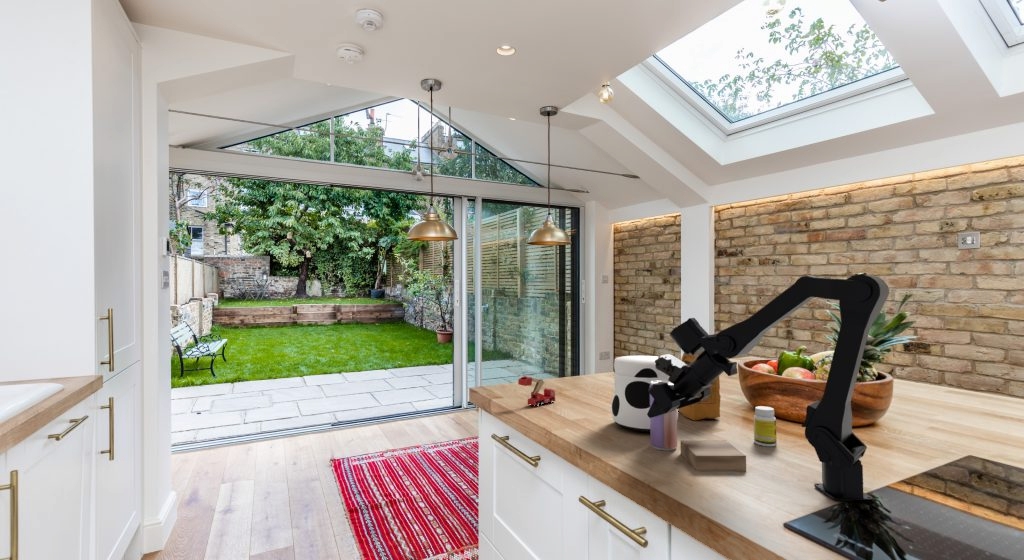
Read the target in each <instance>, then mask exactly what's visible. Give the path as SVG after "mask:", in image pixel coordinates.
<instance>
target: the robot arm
mask: <svg viewBox="0 0 1024 560" xmlns="http://www.w3.org/2000/svg"><path fill="white" fill-rule="evenodd" d="M889 294H890V288H889V285H888V283H886V281H885V280H884V279H883V278H881V277H879V276H876V275H873V274H855V275H854V274H853V275H851V276H850V277H848V278H844V279H843V278H831V277H830V278H829V277H818V276H817V275H816V276H815V275H804V276H803V275H802V276H801V277H799V278H797V279H796V281H795V282H794V283H793V284H792V285H791V286H789V287H787V288H786V289H785V290H784V291H782V292H781V293H779V294H778V295H777V296H775V297H774V298H773V299H772V300H771V301H769V302H768V303H767V304H765V305H764V306H762V307H761V308H760V309H758V311H756V312H755V313H753V314H752V315H751V316H750V317H748V318H746V319H745V320H742V321H740V322H738V323H735V324H732V325H731V326H728V327H727V328H725V329H722V330H721V331H719V332H717V333H715V334H714V333H713V334H709V333H708V332H707V331H706V330H705V328H703V327H702V326H701V324H700V323H699V321H698V320H697V319H696V318H695V317H689V318H688V319H687V320H686V321H684V322H682V323H680V324H679V325H678V326H676V327H673V329H672V330H671V331H670V333H669V337H670V338H671V339H672V340H673V341H674V343H675V344H676V345H677V346H678V348H680V349H681V351H682V352H683V354H684V353H685V354H686V355H690V354H692V355H693V356H696V355H698V354H700V353H701V352H702V351H703V350H704V349H705V350H704V351H703V352H702V353H701V354H700V355H699V356H698V357H697V358H696V359H695V360H694V361H693V362H692V363H691V364H690V365H686V364H685V363H684V362H682V361H681V359H679V358H677V357H676V356H674V355H672V354H670V353H666V354H661V355H659V356H658V359H657V360H655V363H656V365H655V366H656V369H657V370H660V371H662V372H663V373H665V374H667V375H668V376H670V378H669V381H670V382H671V383H673V384H674V385H673V388H674V390H672V389H671V387H670V386H669V385H668V384H667V383H665V382H659V383H656V384H653V385H652V386H651V387H650V388H649V389H648V392H649V393H650V394H651V396H652V397H653V398H654V400H653V403H652V405H651V407H650V409H649V411H648V413H647V415H648V417H649V418H652V417H656V416H659V415H662V414H666V413H669V412H672V411H675V409H676V408H677V409H679V408H682V407H685V406H689V405H692V404H695V403H698V402H700V401H702V400H705V399H706V398H708V397H709V396H710V395H711V389H710V388H709V387H710V386H711V385H712V384H713V383H712V382H713V381H714V380H715V379H716V378H717V377H718V376H719V377H720V376H721V374H723V373H725V374H726V375H727V376H728V377H732V376H735V375H738V373H739V372H738V368H737V365H738V363H737V361H731V360H730V359H733V358H737V357H742V356H745V355H747V354H749V353H750V352H751V351H752V350H753V349H754V348H755V347H756V346H757V345H758V343H760V341H761V340H762V338H763V337H764V336H765V335H766V333H768V331H770V330H771V329H772V328H774V327H775V326H777V325H779V324H780V323H781V322H783V321H784V320H785V319H786V318H788V317H789V316H790V315H792V314H793V313H794V312H796V311H797V310H799V309H800V308H801V307H803V306H804V305H806V304H807V303H809V302H810V301H811V300H813V299H815V298H817V299H818V298H821V299H828V300H837V301H839V302H838V305H839V306H838V307H839V308H838V309H839V315H840V327H839V332H838V335H837V339H836V344H835V348H834V351H833V356H832V359H831V363H830V364H831V365H830V367H829V371H828V374H827V377H826V378H827V380H826V383H825V386H824V391H823V395H822V398H821V399H820V400H816V401H814V402H811V403H810V404H808V405H807V406H806V409H805V410H806V411H805V412H806V413H805V420H804V422H803V423H802V424H801V427H803V428H805V429H804V436H805V439H807V442H808V443H809V444H810V446H811V447H813V448H814V450H815V453H816V455H817V458H818V460H819V462H820V463H821V479H822V483H820V482H819V483H813V484H814V488H816V489H817V490H819V491H820V492H822V493H823V494H825V495H826V496H828V497H829V498H831V499H832V500H834V501H835V502H854V501H853V500H872V499H873V497H872V496H870V495H868V494H867V493H866V492H864V468H863V467H864V465H863V464H862V461H861V460H860V459H861V458H862V457H864V455H865V453H866V451H867V448H868V447H867V445H866V444H865V443H864V442H863V441H862V440H861V439H860V438H859V437H858V436H857V435H856V434H855V433H854V432H853V431H852V430H853V413H852V406H851V404H852V402H851V401H852V397H853V394H854V390H855V386H856V382H857V378H858V375H859V370H860V367H861V364H862V359H863V355H864V352H865V349H866V344H867V341H868V337H869V334H870V329H871V327H872V325H873V324H874V323H875V321H876V319H877V318H878V316H879V314H880V313H881V311H882V310H883V307H884V306H885V304H886V301H887V300H888V297H889ZM700 393H701V394H700ZM700 395H702V396H701V397H699V396H700Z"/></svg>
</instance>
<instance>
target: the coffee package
mask: <svg viewBox="0 0 1024 560" xmlns="http://www.w3.org/2000/svg"><path fill="white" fill-rule="evenodd" d="M704 350H705V349H704ZM704 350H703V351H704ZM703 351H702V352H703ZM702 352H701V353H702ZM701 353H700V354H701ZM700 354H698V355H696V356H693V355H692V354H690V355H686V354H685V353H684V352H683V354H682V356H681V359H680V360H681V361H682V362H684V363H685V364H686V365H690V364H691V363H692V362H693V361H694V360H695V359H696V358H697V357H698V356H699V355H700ZM712 383H713V384H712V385H711V386H710V387H709V388H710V389H711V395H710V396H709V397H708V398H706V399H705V400H702V401H700V402H698V403H695V404H692V405H689V406H685V407H682V408H679V409H678V411H679V412H678V413H681V414H682V416H683V417H684V416H685V417H684V418H686V417H687V418H686V419H689V420H692V421H700V420H704V419H705V420H706V419H709V420H710V419H712V420H713V419H717V418H720V417H721V393H720V389H721V387H720V386H721V383H720V375H719V376H718V377H717V378H716V379H715V380H714V381H713V382H712ZM700 394H701V393H700ZM701 396H702V395H700V396H699V397H701Z"/></svg>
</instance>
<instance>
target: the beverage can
mask: <svg viewBox="0 0 1024 560" xmlns="http://www.w3.org/2000/svg"><path fill="white" fill-rule="evenodd" d="M659 382H665V383H667V384H668V385H669V386H670V387H671V389H672V390H674V388H673V385H674V384H673V383H671V382H670V381H663V380H657V381H651V382H650V387H651V386H652V385H653V384H656V383H659ZM653 400H654V398H653V397H652V396H651V394H650V407H651V405H652V403H653ZM649 433H650V434H649V435H650V436H649V437H650V438H649V440H650V443H649V444H650V446H651V447H652V448H653V449H655V450H659V451H662V450H663V451H662V452H665V451H666V452H667V451H668V452H671V451H674V450H676V449H677V447H678V420H677V408H676V409H675V411H672V412H669V413H666V414H662V415H659V416H656V417H652V418H650V432H649ZM670 450H671V451H670Z"/></svg>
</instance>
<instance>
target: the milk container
mask: <svg viewBox="0 0 1024 560" xmlns="http://www.w3.org/2000/svg"><path fill="white" fill-rule="evenodd" d="M658 357H659V356H654V355H624V356H617V357H615V358H614V362H613V372H614V373H613V381H614V387H613V388H614V391H613V396H612V399H611V403H610V405H611V406H610V409H611V415H612V419H613V422H614V423H615V424H616V425H618V426H620V427H621V428H623V429H624V428H625V429H628V430H630V431H631V430H632V431H639V432H646V433H650V418H649V417H648V415H647V413H648V411H649V409H650V393H649V392H648V389H649V388H650V382H651V381H657V380H663V381H669V378H670V376H668V375H667V374H665V373H663V372H662V371H660V370H657V369H656V366H655V365H656V363H655V360H657V359H658ZM678 419H679V412H678V409H677V421H678Z"/></svg>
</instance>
